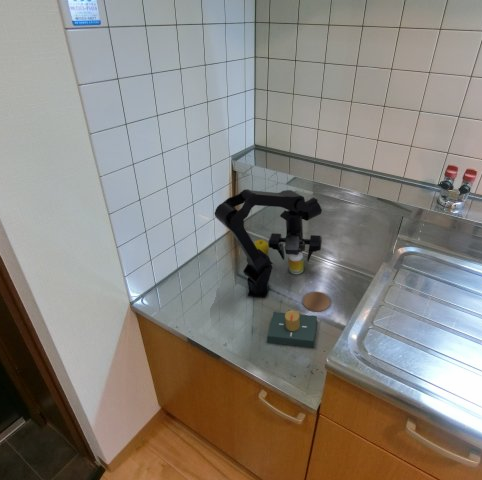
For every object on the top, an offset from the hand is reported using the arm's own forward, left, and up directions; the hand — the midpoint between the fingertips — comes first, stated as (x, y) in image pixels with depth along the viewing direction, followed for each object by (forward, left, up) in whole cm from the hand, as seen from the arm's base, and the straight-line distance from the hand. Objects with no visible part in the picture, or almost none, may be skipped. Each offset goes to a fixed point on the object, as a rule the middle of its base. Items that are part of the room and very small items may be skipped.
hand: (295, 259), depth 138 cm
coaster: (+9, -16, -5) cm, 19 cm away
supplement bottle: (0, 0, -5) cm, 5 cm away
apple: (-15, +7, -5) cm, 17 cm away
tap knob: (+3, -30, -2) cm, 30 cm away
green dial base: (+3, -30, -5) cm, 30 cm away
